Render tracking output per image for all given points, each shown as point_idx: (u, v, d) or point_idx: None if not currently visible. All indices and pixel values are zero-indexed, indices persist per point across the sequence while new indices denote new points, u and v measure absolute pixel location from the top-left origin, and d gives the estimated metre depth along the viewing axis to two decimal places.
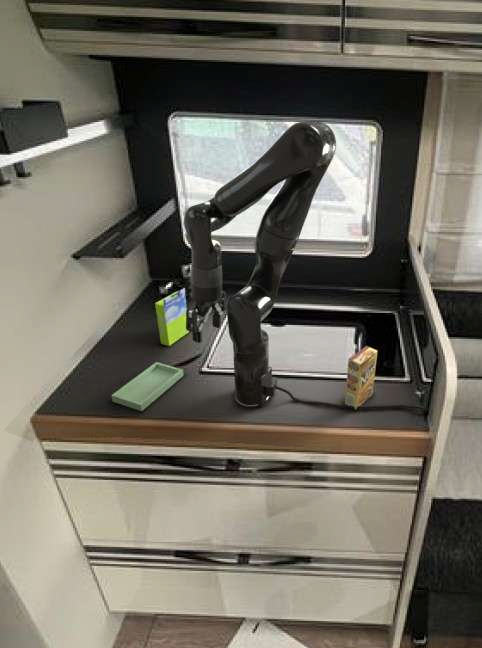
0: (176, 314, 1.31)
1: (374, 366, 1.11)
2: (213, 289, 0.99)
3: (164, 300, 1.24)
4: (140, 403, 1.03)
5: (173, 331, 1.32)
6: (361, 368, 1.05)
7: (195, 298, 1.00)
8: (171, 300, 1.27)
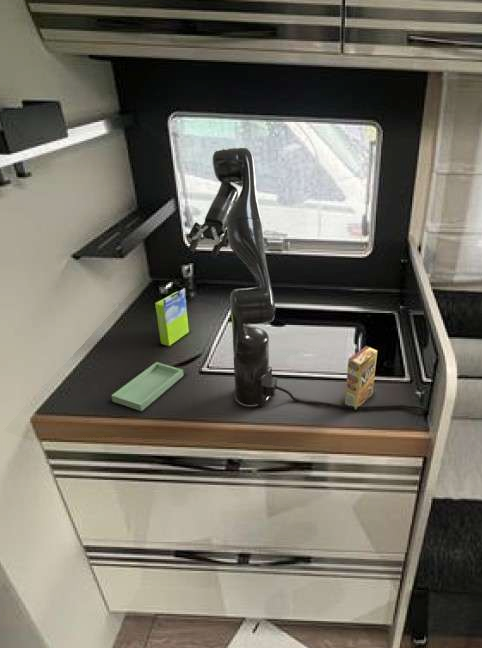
0: (176, 314, 1.31)
1: (374, 366, 1.11)
2: (210, 208, 1.35)
3: (164, 300, 1.24)
4: (140, 403, 1.03)
5: (173, 331, 1.32)
6: (360, 368, 1.05)
7: None
8: (171, 300, 1.27)
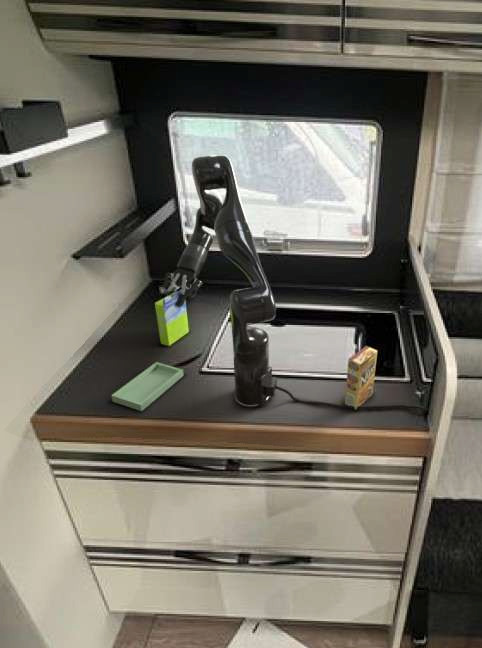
0: (176, 314, 1.31)
1: (374, 366, 1.11)
2: (182, 256, 1.34)
3: (163, 300, 1.24)
4: (140, 403, 1.03)
5: (173, 331, 1.32)
6: (360, 368, 1.05)
7: None
8: (171, 300, 1.27)
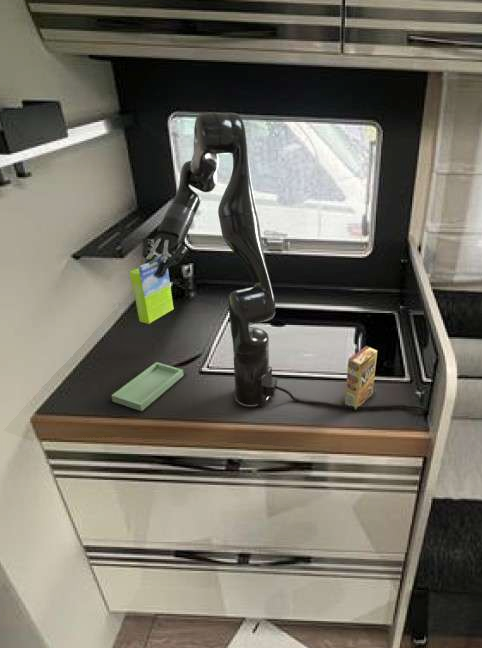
0: (156, 286, 1.11)
1: (374, 366, 1.11)
2: (164, 218, 1.14)
3: (140, 267, 1.04)
4: (140, 403, 1.03)
5: (154, 306, 1.11)
6: (360, 368, 1.05)
7: None
8: (149, 268, 1.07)
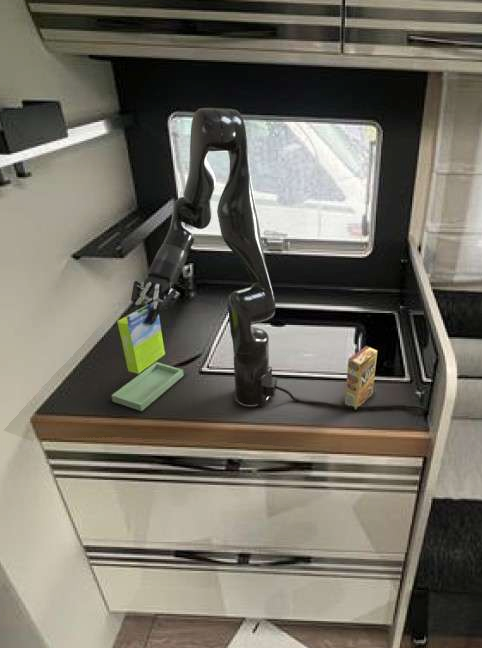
0: (146, 333, 1.04)
1: (374, 366, 1.11)
2: (154, 260, 1.07)
3: (128, 318, 0.97)
4: (140, 403, 1.03)
5: (143, 355, 1.04)
6: (360, 368, 1.05)
7: None
8: (138, 316, 1.00)
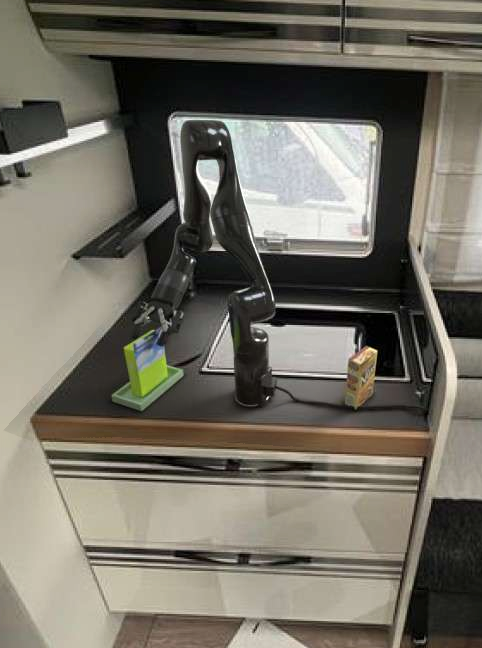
0: (151, 358, 1.07)
1: (374, 366, 1.11)
2: (157, 285, 1.10)
3: (134, 345, 1.00)
4: (140, 403, 1.03)
5: (148, 380, 1.08)
6: (360, 368, 1.05)
7: None
8: (144, 343, 1.04)
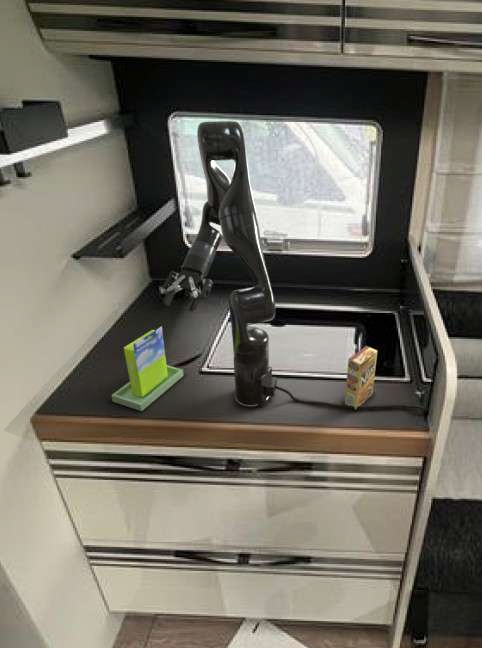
0: (151, 358, 1.07)
1: (374, 366, 1.11)
2: (187, 255, 1.19)
3: (134, 345, 1.00)
4: (140, 403, 1.03)
5: (148, 380, 1.08)
6: (360, 368, 1.05)
7: None
8: (144, 343, 1.04)
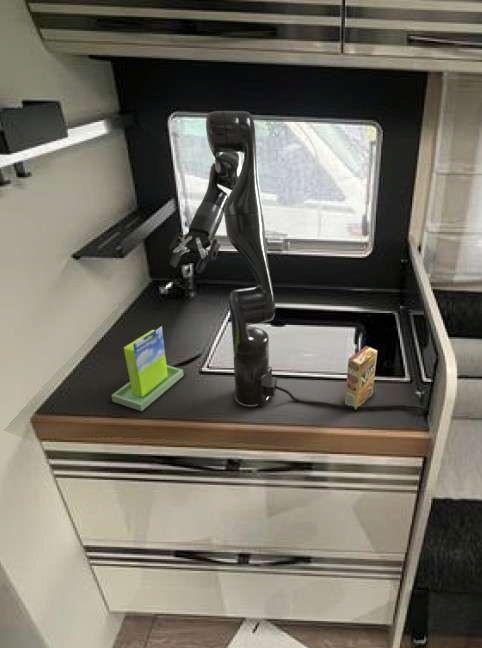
0: (151, 358, 1.07)
1: (374, 366, 1.11)
2: (194, 216, 1.16)
3: (134, 345, 1.00)
4: (140, 403, 1.03)
5: (148, 380, 1.08)
6: (360, 368, 1.05)
7: None
8: (144, 343, 1.04)
